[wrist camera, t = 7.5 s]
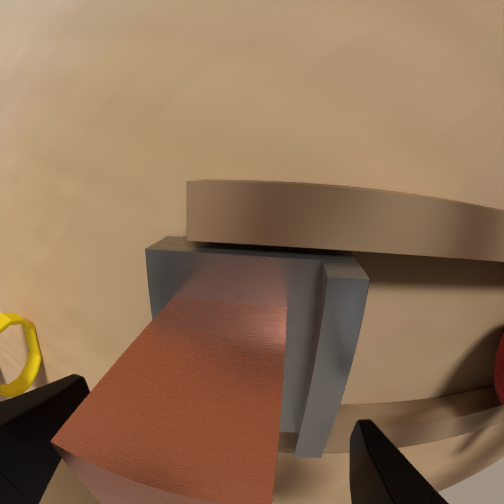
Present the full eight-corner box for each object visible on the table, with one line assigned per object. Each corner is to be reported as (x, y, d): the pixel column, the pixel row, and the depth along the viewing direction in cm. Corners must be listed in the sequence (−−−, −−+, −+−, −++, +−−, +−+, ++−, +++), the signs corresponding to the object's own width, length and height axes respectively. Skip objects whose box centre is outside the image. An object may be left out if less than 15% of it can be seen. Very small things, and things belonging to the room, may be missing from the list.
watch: (17, 298, 15) (-40, 327, 9) (40, 310, 15) (-21, 346, 9) (29, 363, 16) (-16, 398, 11) (52, 378, 16) (6, 418, 10)
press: (347, 247, 11) (461, 437, 2) (318, 404, 13) (320, 565, 4) (167, 236, 12) (-17, 354, 3) (182, 390, 14) (114, 529, 5)
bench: (570, 228, 8) (631, 254, 3) (511, 398, 12) (542, 447, 6) (204, 179, 11) (120, 190, 5) (213, 417, 15) (185, 500, 9)
